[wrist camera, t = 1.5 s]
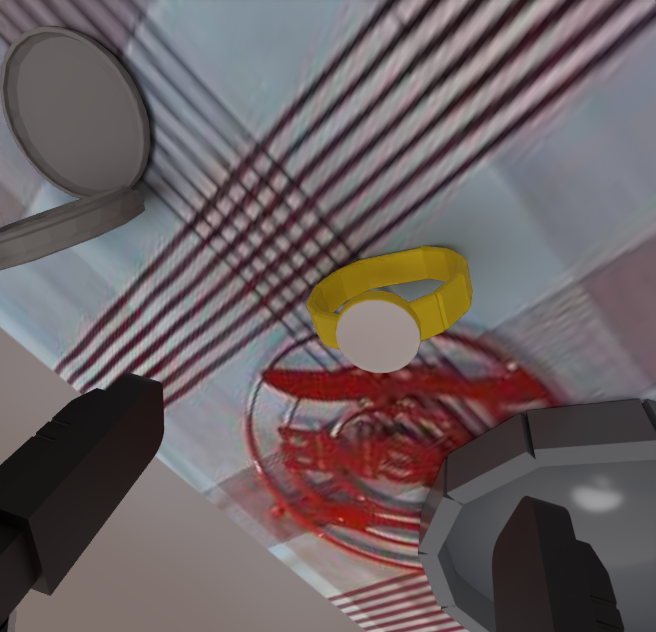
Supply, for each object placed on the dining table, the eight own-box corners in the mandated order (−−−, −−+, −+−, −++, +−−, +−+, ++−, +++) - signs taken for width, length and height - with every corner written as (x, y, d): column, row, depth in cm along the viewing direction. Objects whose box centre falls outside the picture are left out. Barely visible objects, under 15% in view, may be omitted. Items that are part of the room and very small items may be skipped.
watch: (457, 219, 18) (471, 278, 13) (469, 281, 20) (486, 358, 14) (317, 253, 20) (281, 317, 15) (335, 308, 21) (308, 385, 16)
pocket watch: (45, -14, 18) (-336, -75, 9) (218, 140, 19) (22, 211, 10) (-6, 152, 22) (-300, 215, 13) (138, 269, 23) (-48, 394, 15)
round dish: (943, 481, 18) (1006, 537, 16) (685, 675, 28) (703, 726, 26) (489, 355, 21) (492, 390, 18) (393, 574, 30) (388, 614, 28)
